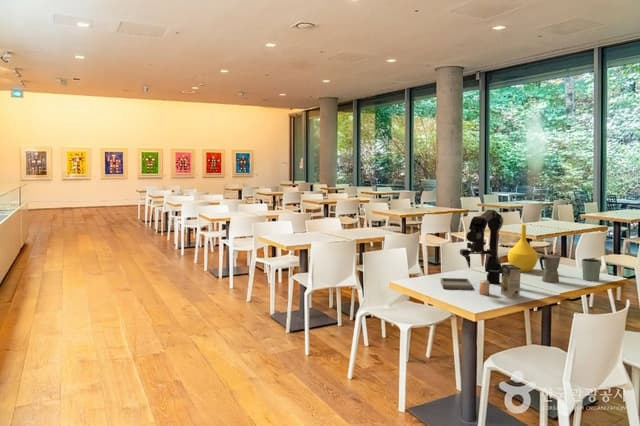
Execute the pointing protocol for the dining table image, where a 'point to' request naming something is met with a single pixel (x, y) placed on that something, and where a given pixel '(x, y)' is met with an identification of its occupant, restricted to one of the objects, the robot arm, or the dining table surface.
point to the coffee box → (510, 281)
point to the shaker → (484, 287)
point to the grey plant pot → (591, 269)
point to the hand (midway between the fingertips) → (477, 267)
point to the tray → (456, 283)
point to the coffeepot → (550, 268)
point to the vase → (523, 254)
